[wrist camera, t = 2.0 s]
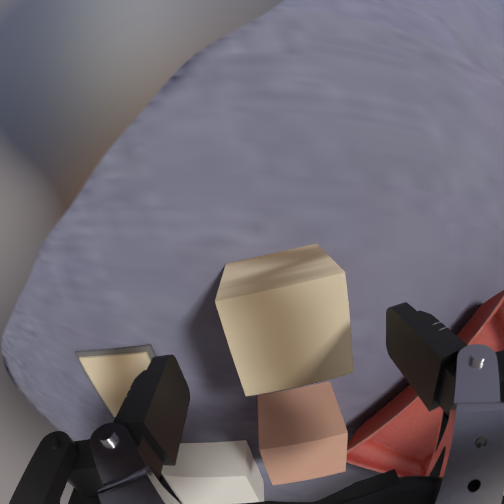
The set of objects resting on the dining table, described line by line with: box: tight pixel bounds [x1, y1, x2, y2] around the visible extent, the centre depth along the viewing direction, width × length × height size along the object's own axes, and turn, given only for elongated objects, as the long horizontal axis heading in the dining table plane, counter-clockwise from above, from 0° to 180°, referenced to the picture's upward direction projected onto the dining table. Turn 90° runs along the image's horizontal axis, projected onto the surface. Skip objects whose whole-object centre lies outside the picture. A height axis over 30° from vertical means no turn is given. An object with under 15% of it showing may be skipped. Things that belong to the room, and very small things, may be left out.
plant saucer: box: [346, 290, 504, 477], centre depth 17 cm, size 18×18×3 cm
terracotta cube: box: [258, 381, 348, 485], centre depth 16 cm, size 5×5×5 cm
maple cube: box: [215, 244, 353, 396], centre depth 13 cm, size 5×5×5 cm
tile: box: [74, 344, 156, 418], centre depth 17 cm, size 7×7×1 cm
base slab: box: [162, 440, 264, 504], centre depth 18 cm, size 8×8×4 cm
